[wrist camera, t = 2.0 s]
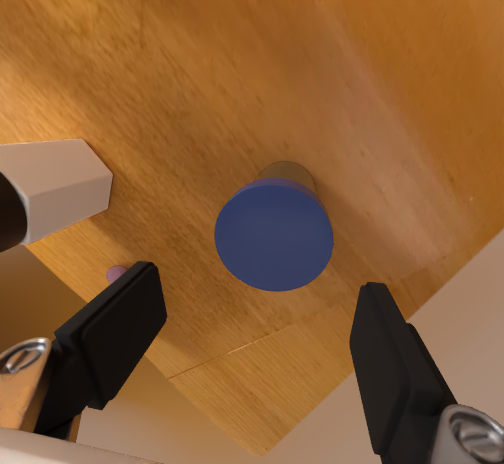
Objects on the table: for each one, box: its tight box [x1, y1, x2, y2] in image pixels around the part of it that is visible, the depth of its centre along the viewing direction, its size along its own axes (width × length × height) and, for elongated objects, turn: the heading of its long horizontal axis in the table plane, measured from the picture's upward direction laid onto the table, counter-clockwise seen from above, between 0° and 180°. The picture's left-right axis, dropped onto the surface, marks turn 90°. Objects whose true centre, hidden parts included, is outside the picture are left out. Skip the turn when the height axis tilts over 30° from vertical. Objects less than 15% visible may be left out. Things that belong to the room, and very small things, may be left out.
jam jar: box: [253, 161, 318, 197], centre depth 19 cm, size 6×6×11 cm
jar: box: [0, 138, 113, 252], centre depth 22 cm, size 9×8×12 cm
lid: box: [215, 177, 334, 291], centre depth 15 cm, size 7×7×2 cm
